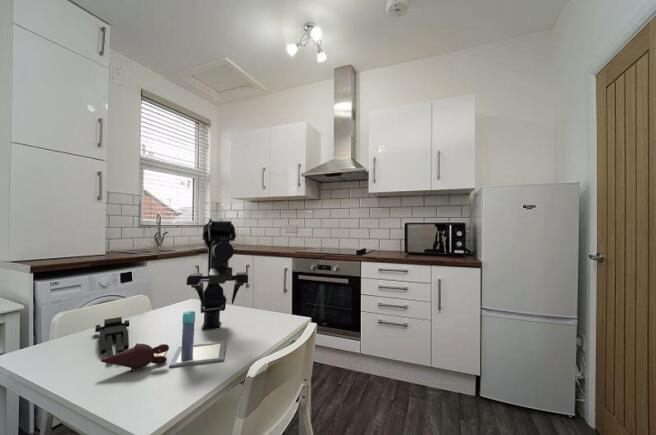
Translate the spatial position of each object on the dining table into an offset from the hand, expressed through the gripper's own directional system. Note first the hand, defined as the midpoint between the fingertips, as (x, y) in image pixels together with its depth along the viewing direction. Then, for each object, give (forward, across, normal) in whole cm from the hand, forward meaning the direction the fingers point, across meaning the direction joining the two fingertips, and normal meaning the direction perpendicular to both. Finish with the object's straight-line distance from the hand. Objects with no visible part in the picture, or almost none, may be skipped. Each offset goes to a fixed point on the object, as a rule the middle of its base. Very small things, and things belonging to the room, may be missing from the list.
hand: (217, 304), depth 90 cm
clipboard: (+13, -4, -7) cm, 15 cm away
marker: (+12, -7, -10) cm, 18 cm away
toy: (+14, -31, +7) cm, 35 cm away
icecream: (+13, -19, -12) cm, 26 cm away
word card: (+13, -16, -3) cm, 21 cm away
